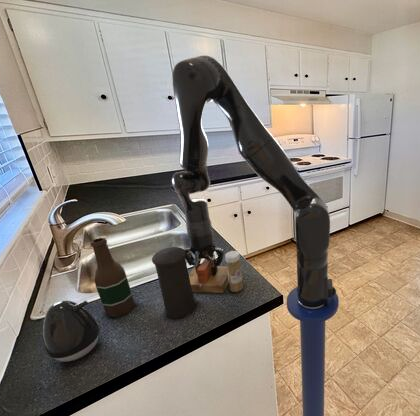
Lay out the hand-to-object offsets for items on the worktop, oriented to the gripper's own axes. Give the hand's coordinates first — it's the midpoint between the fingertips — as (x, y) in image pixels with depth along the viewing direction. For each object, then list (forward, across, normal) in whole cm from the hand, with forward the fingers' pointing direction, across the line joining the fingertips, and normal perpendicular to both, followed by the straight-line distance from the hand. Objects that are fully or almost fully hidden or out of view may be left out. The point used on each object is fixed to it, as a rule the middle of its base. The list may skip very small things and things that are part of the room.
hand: (207, 274), depth 93 cm
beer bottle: (+3, -22, -14) cm, 26 cm away
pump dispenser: (+3, -22, -29) cm, 37 cm away
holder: (0, 0, 0) cm, 0 cm away
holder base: (+3, 0, 0) cm, 3 cm away
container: (+3, -4, -13) cm, 14 cm away
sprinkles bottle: (+3, +11, -3) cm, 12 cm away
